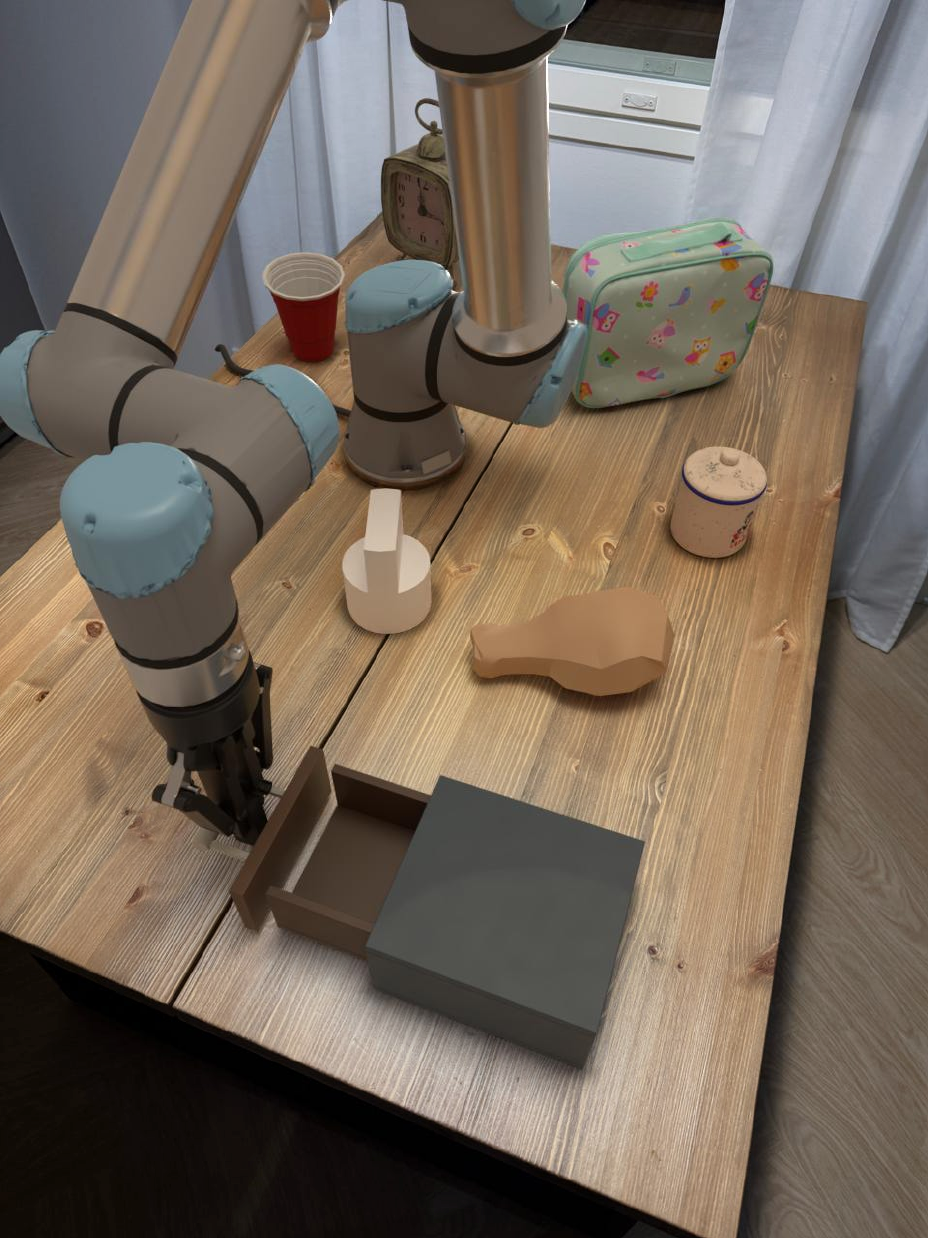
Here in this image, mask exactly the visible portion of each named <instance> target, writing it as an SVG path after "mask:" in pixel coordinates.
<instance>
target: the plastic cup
mask: <svg viewBox="0 0 928 1238" xmlns="http://www.w3.org/2000/svg"><path fill="white" fill-rule="evenodd" d="M345 277H346V274H345V270H344V268H343V266H342V264H340V263H339V262H338V261H337V260H336V259H334V258H332V257H330V256H327V255H324V254H322V253H318V252H317V253H316V252H307V251H303V252H293V253H288V254H287V253H286V254H285V255H282V256H280V257H277V258H274V259H273V260H272V261H271V262H269V263H268V264H267V265H265V267H264V270H263V272H262V274H261V278H262V280H263V281H262V282H263V284H264V287H265V288H266V289H267V290H268V292H269V293H270V296H271V298H272V300H273V302H274V304H275V307H276V310H277V313H278V315H279V318H280V321H281V325H282V327H283V330H284V333H285V336H286V338H287V340H288V344H289V346H290V349H291V352H292V353H293V356H294V357H295V358H296V359H297V360H299V361H303V362H305V363H307V362H309V363H314V362H321V361H323V360H326V359H328V358H329V357H331V356H332V355H333V352H334V347H335V342H336V341H335V338H336V330H337V321H338V320H337V319H338V308H339V297H340V291H341V287H342V285H343V282H344V279H345Z"/></svg>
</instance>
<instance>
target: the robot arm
mask: <svg viewBox="0 0 928 1238" xmlns="http://www.w3.org/2000/svg"><path fill="white" fill-rule="evenodd" d="M382 1H383V2H388V3H395V4H398V5H401V6H402V7H403V9H404V13H405V20H406V25H407V33H408V39H409V44H410V47H411V51H412V52H413V54H414V56H416V58H417V59H418V60H419V61H420V62H421V63H422V64H424V65H425V66H426V67H427V68H429V69H431V70H432V71H434V78H435V85H436V94H437V101H438V102H439V107H438V108H439V117H440V123H441V129H442V132H443V134H442V135H443V140H444V147H445V155H446V162H447V170H448V178H449V185H450V193H451V200H452V208H453V216H454V223H455V231H456V238H457V246H458V254H459V261H458V262H459V269H460V277H461V283H462V290H461V291H460V292H459V291H456V290H455V291H454V290H453V289H454V288H453V280H452V279H451V276H450V273H449V270H447V269H446V267H443V266H441V265H439V264H437V263H434V262H430V261H424V260H416V259H406V260H403V261H396V260H395V261H391V262H387V263H384V264H383V263H382V264H379V265H377V266H374V267H373V268H370V269H368V270H366V271H365V272H363V273H362V274H359V276H357V277H356V278H355V279H354V280H353V282H351V283H350V285H349V287H348V289H347V290H346V293H345V299H344V302H345V303H344V305H345V309H344V310H345V311H344V312H345V321H344V328H345V331H346V336H347V338H346V339H347V347H348V357H349V365H350V374H351V385H352V393H353V402H352V406H351V410H350V409H348V408H345V407H341V406H338V405H336V404H334V403H332V402H331V400H330V398H329V397H328V395H327V394H326V393H325V392H324V390H323V389H322V388H321V387H320V385H319V384H318V383H316V382H315V381H314V380H313V379H312V378H311V377H309V376H308V375H307V374H305V373H303V372H302V371H300V370H298V369H296V368H294V367H291V366H287V365H283V364H279V363H274V364H268V365H262V366H261V367H258V368H256V369H254V370H252V369H247V368H244V367H240V366H239V365H237V364H236V363H235V362H234V361H233V360H232V357H231V356H230V354H229V351H228V349H227V348H226V346H225V344H222V343H219V344H217V345H216V346H215V348H214V351H215V352H216V353H220V354H221V356H222V358H223V361H224V362H225V364H226V365H227V367H228V368H229V369H230V370H231V371H232V372H234V373H236V374H238V375H241V378H239V379H238V381H237V384H236V385H227V384H223V383H220V382H217V381H213V380H210V379H208V378H204V377H200V376H197V375H194V374H191V373H187V372H183V371H181V370H177V369H174V368H175V366H176V364H177V361H178V359H179V355H180V353H181V350H182V348H183V345H184V343H185V341H186V338H187V335H188V333H189V330H190V328H191V326H192V323H193V321H194V318H195V316H196V313H197V311H198V309H199V307H200V304H201V302H202V299H203V297H204V294H205V292H206V289H207V286H208V284H209V282H210V279H211V277H212V275H213V272H214V270H215V267H216V265H217V262H218V260H219V258H220V254H221V252H222V250H223V248H224V245H225V243H226V240H227V237H228V236H229V233H230V230H231V228H232V225H233V223H234V220H235V218H236V216H237V214H238V211H239V209H240V206H241V204H242V202H243V198H244V197H245V194H246V191H247V189H248V187H249V184H250V181H251V179H252V177H253V174H254V172H255V170H256V168H257V164H258V162H259V160H260V158H261V155H262V152H263V150H264V147H265V145H266V143H267V140H268V138H269V136H270V133H271V130H272V128H273V125H274V123H275V121H276V118H277V117H278V116H277V115H278V114H279V111H280V109H281V106H282V104H283V101H284V98H285V97H286V93H287V91H288V88H289V87H290V85H291V82H292V79H293V76H294V74H295V72H296V69H297V67H298V65H299V63H300V60H301V57H302V54H303V52H304V50H305V47H306V45H307V43H313V42H316V41H318V40H320V39H322V38H324V36H325V35H326V34H327V32H328V31H329V29H330V27H331V24H332V21H333V19H334V16H335V14H336V13H337V10H338V9H339V7H340V6H342V4H344V3H345V2H348V0H191V2H190V5H189V7H188V10H187V12H186V14H185V17H184V18H183V19H184V20H183V21H182V24H181V27H180V29H179V32H178V34H177V37H176V38H175V41H174V44H173V45H172V48H171V51H170V53H169V55H168V57H167V60H166V62H165V65H164V68H163V70H162V72H161V75H160V77H159V79H158V81H157V83H156V84H157V85H156V87H155V89H154V92H153V94H152V96H151V100H150V101H149V104H148V106H147V109H146V111H145V113H144V116H143V118H142V120H141V123H140V126H139V128H138V131H137V133H136V135H135V137H134V139H133V142H132V145H131V147H130V150H129V151H128V154H127V157H126V159H125V162H124V164H123V167H122V169H121V171H120V173H119V177H118V178H117V181H116V183H115V185H114V188H113V191H112V192H111V195H110V198H109V200H108V203H107V205H106V207H105V209H104V212H103V215H102V217H101V219H100V221H99V224H98V227H97V229H96V231H95V234H94V237H93V239H92V241H91V243H90V246H89V248H88V251H87V254H86V256H85V258H84V260H83V263H82V265H81V267H80V270H79V273H78V274H77V277H76V280H75V282H74V285H73V286H72V289H71V292H70V294H69V297H68V299H67V302H66V304H65V307H64V309H63V312H62V314H61V316H60V318H59V320H58V322H57V326H56V328H55V330H54V329H51V330H40V329H39V330H38V329H36V330H35V329H34V330H29V331H26V332H23V333H21V334H19V335H17V336H16V338H15V340H13V342H12V343H10V344H9V345H8V346H5V347H4V348H3V350H2V351H1V352H0V418H1V419H2V421H3V422H4V423H5V424H6V425H7V426H8V428H10V429H11V430H12V431H13V432H15V433H16V435H18V436H20V437H21V438H24V439H26V440H28V441H31V442H33V443H35V444H38V445H40V446H43V447H45V448H48V449H50V450H52V451H53V452H54V453H55V454H56V455H60V456H62V457H64V458H73V459H78V460H81V461H82V463H80V464H79V465H78V466H77V467H76V468H75V469H74V470H73V471H72V472H71V474H70V475H69V476H68V478H67V480H66V481H65V483H64V484H63V486H62V490H61V492H60V496H59V511H60V513H59V514H60V517H61V521H62V524H63V528H64V533H65V536H66V539H67V541H68V544H69V546H70V549H71V553H72V558H73V560H74V562H75V563H74V565H75V567H76V568H77V570H78V573H79V575H80V577H81V578H82V579H83V580H84V581H85V583H86V586H87V588H88V589H89V592H90V593H91V596H92V598H93V600H94V601H95V604H96V607H97V609H98V610H99V613H100V615H101V617H102V620H103V621H104V623H105V625H106V628H107V630H108V632H109V634H110V636H111V638H112V640H113V643H114V645H115V649H116V650H117V651H116V652H117V653H118V655H119V658H120V660H121V662H122V664H123V666H124V670H125V672H126V674H127V676H128V679H129V681H130V683H131V685H132V687H133V688H134V689H135V692H136V695H137V697H138V699H139V701H140V703H141V705H142V709H143V710H144V713H145V714H146V717H147V720H148V721H149V724H151V726H152V727H153V729H154V730H155V732H157V734H158V735H159V736H160V737H161V738H162V739H163V740H164V741H165V743H166V760H167V762H168V764H169V765H170V766H171V767H172V768H171V772H170V774H169V777H168V778H167V779H166V781H165V783H158V784H157V785H155V787H154V789H153V790H152V792H151V801H152V802H155V803H157V804H160V805H163V806H165V807H168V808H171V809H174V810H177V811H179V812H180V813H182V814H183V815H184V816H185V817H187V818H188V819H189V820H190V821H192V822H193V823H194V824H195V825H197V827H199V828H200V827H201V828H204V829H207V830H210V831H213V832H215V833H218V834H219V835H221V836H224V837H227V838H230V837H232V836H233V837H234V840H235V841H236V842H239V843H242V844H245V845H248V846H251V847H252V848H253V847H254V845H255V843H256V841H257V839H258V838H259V836H260V834H261V832H262V831H263V829H264V827H265V825H266V824H267V822H268V820H269V818H268V816H267V814H266V810H265V808H264V805H265V803H266V797H267V796H269V793H270V791H271V789H272V786H273V784H274V783H273V781H270V780H267V779H265V778H264V775H263V771H264V770H266V771H268V770H270V768H271V767H273V763H274V747H273V745H274V744H273V728H272V708H271V688H272V681H273V680H272V679H273V672H274V669H273V667H271V666H268V665H264V664H261V663H259V662H255V661H254V659H253V655H252V652H251V650H250V648H249V645H248V640H247V638H246V634H245V630H244V627H243V623H242V620H241V617H240V613H239V612H240V609H239V604H238V600H237V595H236V591H235V587H234V584H233V583H234V582H233V578H232V575H233V573H234V572H235V570H236V569H237V568H238V567H239V566H240V564H242V562H243V561H244V560H245V559H246V558H247V557H248V556H249V554H250V553H251V552H252V551H253V549H254V548H255V547H256V546H257V545H258V544H259V543H260V542H261V541H262V539H263V538H264V537H265V536H266V535H267V534H268V533H269V532H270V531H271V530H272V529H273V527H274V526H275V525H276V524H277V523H278V522H279V521H280V520H281V519H282V517H284V515H285V514H286V513H287V512H288V511H289V510H290V509H291V507H292V506H293V505H294V504H295V503H296V502H297V501H298V500H299V499H300V498H301V497H302V495H304V493H306V492H307V491H308V490H310V488H311V487H312V486H314V484H315V483H316V479H317V477H318V476H319V474H320V473H321V472H322V471H323V470H324V468H325V467H326V465H327V464H328V463H329V462H330V460H331V458H332V457H333V456H334V454H335V453H336V451H337V450H338V446H339V444H340V437H341V434H340V432H341V428H340V424H339V418H338V415H339V416H340V415H341V416H344V417H345V418H348V421H347V425H346V428H345V431H344V435H343V452H344V458H345V461H346V465H347V466H348V468H349V469H350V470H351V472H353V474H355V475H356V476H357V477H358V478H359V479H361V480H362V481H364V482H367V483H369V484H371V485H375V486H376V487H380V488H383V489H385V488H387V489H397V490H401V491H402V490H405V491H406V490H415V489H416V490H417V489H422V488H427V487H431V486H434V485H436V484H437V485H438V484H439V483H441V482H443V481H445V480H447V479H449V477H452V476H453V475H454V474H455V473H456V472H457V471H458V470H459V469H460V467H461V466H462V465H463V463H464V461H465V458H466V455H467V435H466V431H465V428H464V425H463V423H462V421H461V420H460V416H459V412H458V410H457V407H460V408H463V409H466V410H469V411H472V412H476V413H479V414H482V415H485V416H488V417H491V418H495V419H498V420H502V421H505V422H508V423H511V424H513V425H516V426H520V425H521V426H522V425H523V426H526V427H531V428H537V429H545V428H547V427H549V426H551V425H552V424H553V423H554V422H556V421H557V419H558V418H559V416H560V415H561V413H562V411H563V409H564V407H565V405H566V403H567V401H568V399H569V397H570V395H571V393H572V391H571V390H572V387H573V385H574V382H575V380H576V377H577V374H578V371H579V368H580V365H581V362H582V359H583V355H584V352H585V347H586V343H587V336H588V330H587V327H586V326H585V325H584V324H582V323H579V322H578V320H575V319H573V320H572V321H571V320H568V319H567V303H566V300H565V297H564V295H563V293H562V291H563V290H561V288H560V287H559V286H558V284H556V283H555V282H554V281H553V280H552V243H551V242H552V239H551V237H552V236H551V235H552V233H551V195H550V194H551V188H550V187H551V186H550V183H551V182H550V135H549V132H550V127H549V81H548V77H549V76H548V74H549V73H548V57H549V56H550V55H551V54H552V53H553V52H554V51H556V50H557V48H558V47H559V45H560V44H561V43H562V42H563V40H564V38H565V35H566V32H567V28H568V25H569V24H571V23H572V22H573V21H575V19H576V18H578V16H579V15H580V13H581V12H582V10H583V9H584V6H585V4H586V2H587V0H382ZM255 748H256V749H255ZM194 772H196V773H197V775H198V777H199V781H200V783H201V785H202V787H201V786H198V785H196V784H195V780H194V779H193V778H192V773H194ZM202 788H203V790H204V792H205V794H203V793H201V792H202ZM265 796H266V797H265Z"/></svg>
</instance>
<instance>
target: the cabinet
mask: <svg viewBox="0 0 928 1238" xmlns="http://www.w3.org/2000/svg"><path fill="white" fill-rule="evenodd" d="M430 795H431V797H430V799H429V801H428V804H427V806H426V808H425V811H424V813H423V815H422V817H421V820H420V822H419V824H418V826H417V829H416V831H415V833H414V835H413V838H412V840H411V842H410V845H409V847H408V849H407V851H406V854H405V856H404V858H403V860H402V863H401V865H400V867H399V870H398V872H397V874H396V876H395V879H394V881H393V883H392V885H391V888H390V890H389V892H388V895H387V897H386V899H385V901H384V904H383V906H382V908H381V910H380V913H379V915H378V917H377V919H376V922H375V924H374V926H373V929H372V931H371V933H370V935H369V938H368V940H367V942H366V944H365V949H366V955H367V960H368V962H367V964H368V970H369V974H370V980H371V985H372V989H373V990H376V991H378V992H380V993H383V994H385V995H388V996H391V997H393V998H396V999H398V1000H400V1001H404V1002H406V1003H409V1004H412V1005H414V1006H417V1007H419V1008H422V1009H424V1010H427V1011H429V1012H431V1013H434V1014H438V1015H439V1016H443V1017H445V1018H448V1019H449V1020H452V1021H455V1022H458V1023H460V1024H463V1025H466V1026H469V1027H471V1028H473V1029H476V1030H478V1031H481V1032H484V1033H487V1034H489V1035H491V1036H494V1037H497V1038H499V1039H502V1040H505V1041H507V1042H510V1043H512V1044H515V1045H517V1046H519V1047H522V1048H525V1049H528V1050H530V1051H533V1052H536V1053H538V1054H539V1055H540V1054H541V1055H542V1056H546V1057H548V1058H551V1059H553V1060H556V1061H559V1062H561V1063H564V1064H567V1065H569V1066H572V1067H574V1068H577V1069H579V1070H583V1069H584V1067H585V1064H586V1062H587V1060H588V1057H589V1055H590V1052H591V1050H592V1048H593V1044H594V1042H595V1039H596V1037H597V1035H598V1032H599V1028H600V1024H601V1019H602V1016H603V1011H604V1007H605V1003H606V1000H607V996H608V991H609V988H610V984H611V980H612V975H613V973H614V968H615V965H616V960H617V956H618V951H619V948H620V945H621V944H620V943H621V941H622V936H623V932H624V928H625V924H626V920H627V916H628V912H629V909H630V904H631V900H632V896H633V893H634V888H635V884H636V880H637V875H638V872H639V869H640V864H641V861H642V856H643V853H644V848H645V844H646V840H642V839H639V838H636V837H634V836H630V835H628V834H627V835H626V834H624V833H621V832H617V831H614V830H611V829H608V828H605V827H602V826H600V825H599V826H598V825H596V824H593V823H591V822H587V821H584V820H580V819H577V818H574V817H571V816H569V815H565V814H562V813H559V812H555V811H554V810H550V809H547V808H543V807H540V806H537V805H535V804H531V803H529V802H525V801H522V800H519V799H517V798H516V799H515V798H513V797H510V796H507V795H504V794H500V793H497V792H495V791H491V790H488V789H484V788H482V787H479V786H476V785H473V784H469V783H466V782H463V781H460V780H458V779H454V778H451V777H448V776H445V775H442V774H440V775H439V776H438V779H437V781H436V783H435V786H434V788H433V790H432V792H431V794H430Z"/></svg>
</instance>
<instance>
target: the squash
mask: <svg viewBox="0 0 928 1238" xmlns="http://www.w3.org/2000/svg"><path fill="white" fill-rule="evenodd" d="M469 638H470V641H471V645H472V649H473V654H472V661H471V665H470V668H471V669H472V671H474V672H475V673H476V674H477V675H478V676H479V677H480V678H487V679H494V678H497V677H501V676H512V675H534V676H535V675H537V676H543V677H549V678H551V679H552V680H554V681H555V682H556V683H558V684H559V685H560V686H562V687H563V688H564V689H567V690H572V691H575V692H580V693H586V694H588V695H590V696H593V697H594V696H595V697H604V696H609V695H610V696H611V695H617V694H626V693H632V692H634V691H636V690H637V689H640V688H641V687H643V686H645V685H646V684H649V683H650V682H652V681H653V680H655V679H657V678H659V677H661V676H663V675H665V674H666V673H667V671H668V668H669V663H670V658H671V654H672V650H673V645H674V642H675V641H674V640H675V632H674V629H673V626H672V623H671V620H670V617H669V613H668V612H667V610H666V608H665V607H664V604H663V603H662V601H661V598H660V597H659V596H658V595H655V594H652V593H649V592H646V591H643V590H640V589H636V588H634V587H632V586H627V587H626V586H625V587H613V588H606V589H598V590H594V591H592V592H590V593H582V594H581V593H580V594H572V595H571V594H570V595H564V596H561V598H559V599H557V600H556V601H554V602H552V603H551V604H549V605H548V607H547V608H546V609H545V610H544V611H543V612H541V613H540V614H538V615H536V616H535V617H532V618H531V619H529V620H527V621H520V622H512V623H506V624H505V623H504V624H496V623H491V622H486V623H483V622H482V623H477V624H475V625H473V626H472V627H470V632H469Z"/></svg>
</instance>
